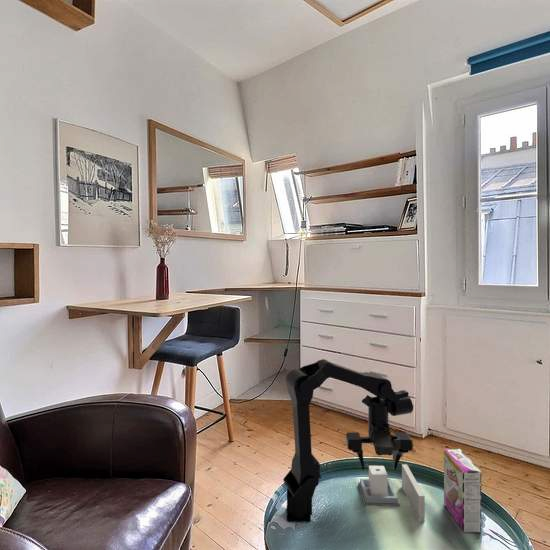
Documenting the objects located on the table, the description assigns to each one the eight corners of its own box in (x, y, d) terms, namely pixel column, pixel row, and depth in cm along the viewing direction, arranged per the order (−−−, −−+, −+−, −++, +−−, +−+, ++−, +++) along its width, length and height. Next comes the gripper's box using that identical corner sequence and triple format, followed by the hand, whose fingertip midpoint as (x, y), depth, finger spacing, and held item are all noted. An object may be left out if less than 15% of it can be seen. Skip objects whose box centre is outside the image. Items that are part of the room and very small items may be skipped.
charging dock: (364, 505, 104) (364, 498, 104) (358, 483, 114) (358, 477, 114) (400, 505, 104) (400, 499, 104) (390, 484, 114) (390, 478, 114)
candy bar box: (442, 504, 104) (442, 448, 104) (460, 504, 104) (460, 448, 104) (462, 533, 93) (463, 471, 92) (482, 533, 93) (482, 471, 92)
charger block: (372, 497, 107) (371, 473, 107) (368, 488, 111) (368, 465, 111) (387, 497, 107) (387, 473, 106) (383, 488, 111) (383, 465, 111)
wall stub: (418, 521, 98) (418, 495, 97) (401, 486, 113) (401, 464, 112) (424, 521, 98) (424, 495, 97) (406, 486, 113) (406, 464, 112)
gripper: (351, 430, 100) (351, 485, 101) (419, 430, 100) (419, 486, 100) (345, 413, 112) (345, 463, 112) (407, 413, 111) (407, 463, 111)
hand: (378, 469), depth 109 cm, fingers open, 9 cm apart
